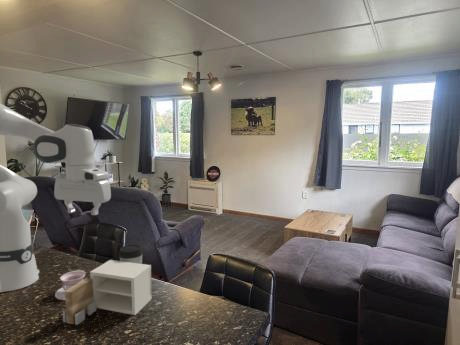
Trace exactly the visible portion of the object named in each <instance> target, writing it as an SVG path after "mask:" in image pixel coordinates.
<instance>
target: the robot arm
mask: <svg viewBox="0 0 460 345" xmlns="http://www.w3.org/2000/svg"><path fill="white" fill-rule="evenodd" d="M0 136H11V137H12V136H13V137H20V138H25V139H29V140H31V141H33V146H32V151H33V154H34V156H35V157H36V159H37V160H38V161H39V162H41V163H45V164H59V163H65V172H59V173H57V174H56V175H55V182H54V193H53V194H54V198H55V199H56V200H58V201H59V200H60V201H63V202H64V205H65V206H66V209H67V213H68V214H73V213H76V207H74V206H73V204H72V203H73V202H74V201H76V202H87V203H88V202H89V203H92V204H93V206H94V207H93V208H92V209H91V210H90V214H91V215H92V216H97V215H99V209H100V208H101V205H102V204H103V203H107V202H109V201H110V200H111V198H112V191H111V183H110V181H109V180H108V179H109V177H110V173H109V172H107V171H106V170H103V169H100V168H98V167H96V162H95V158H94V154H95V140H94V135H93V132H92V129H91V128H90V127H88V126H86V125H82V124H76V123H67V124H65V125H64V126H63V127H62V128H60V129H58V130H53V129H51V128H49V127H47V126H45V125H43V124H41V123H39V122H36V121H34V120H31V119H29V118H27V117H26V116H24V115H22V114H20V113H19V112H17V111H15V110H13V109H11V108H9V107H8V106H6V105H4V104H3V103H1V102H0ZM37 195H38V188H37V185H36V183H35V182H34V181H32V180H31V179H29V178H25V177H23V176H21V175H19V174H17V173H16V172H14V171H12V170H11V169H8V168H7V167H5V166H4V165H2V164H0V293H4V292H12V291H16V290H20V289H23V288H26V287H28V286H31V285H33V284H34V283H36V282H37V281H38V280H39V279H40V277H39V273H40V269H38V267H37V261H36V257H35V254H34V244H33V242H32V235H31V234H32V233H31V225H30V223H29V221H27V220H26V218H25V216H24V214H23V211H22V207H24V206H27V205H29V204H30V203H31V202H32V201H33V200H34V199H35V198H36V196H37Z"/></svg>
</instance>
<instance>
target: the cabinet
mask: <svg viewBox="0 0 460 345" xmlns="http://www.w3.org/2000/svg"><path fill="white" fill-rule="evenodd" d="M89 276H90V277H89V279H92V287H93V302H92V303H90V304H89V305H88V306H87V314H86V315H87V316H91V315H92V314H93V313H94V312H96V311H97V309H100V310H106V311H111V312H117V313H121V314H128V315H132V316H136V315H137V314H138V313H139V312H140V311H141V310H142V309H143V308H144V307H145V306H146V305H147V304H148V303H149V302H151V300H152V298H153V297H152V296H153V295H152V264H146V263H142V264H138V263H131V262H123V261H120V260H117V259H116V260H114V259H109V260H107V261H105V262H104V263H102V264H101V265H99V266H97V267H95V268H94V269H92V270H91V271H89ZM86 315H85V310H83V309H82V310H81V311H79V312H78V313H77V314H75V324H74V325H80V324H81V323H82V322H83V321H84V320H86ZM62 323H67V318H66V309H65V310H64V311H63V312H62Z"/></svg>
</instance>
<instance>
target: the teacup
mask: <svg viewBox="0 0 460 345" xmlns="http://www.w3.org/2000/svg"><path fill="white" fill-rule="evenodd" d="M85 276H86V271H85V270H81V269H80V270H79V269H78V270H72V271H68V272H66V273H63V274H62V275H61V276H60V277H59V279H60V281H61V282H62V285H61V286H62V287H60V288H58V289H57V290H56V291H55V294H54V298H56V299H57V300H59V301H65V291H66V290H68V289H69V288H71V287H72V286H74V285H76V284H77V283H79V282H81V281H82V280H84V279H85Z"/></svg>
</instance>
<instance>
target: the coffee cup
mask: <svg viewBox="0 0 460 345" xmlns="http://www.w3.org/2000/svg"><path fill="white" fill-rule="evenodd" d="M143 254H144V251H143V248H142V246H141V245H139V244H127V245H124V246H122V247H121V248H120V249H119V251H118V257H119V261H123V262H131V263H138V264H143Z"/></svg>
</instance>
